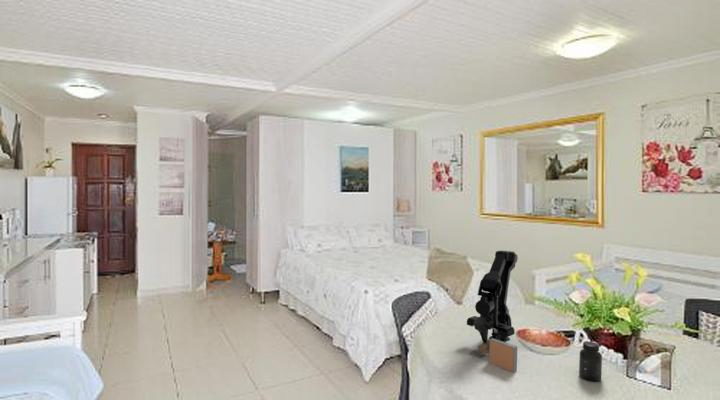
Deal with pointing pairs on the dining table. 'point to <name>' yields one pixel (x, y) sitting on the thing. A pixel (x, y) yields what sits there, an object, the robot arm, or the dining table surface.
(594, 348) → the supplement bottle
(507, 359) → the tile
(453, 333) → the dining table surface
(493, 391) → the dining table surface
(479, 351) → the brown wooden slab
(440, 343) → the dining table surface
